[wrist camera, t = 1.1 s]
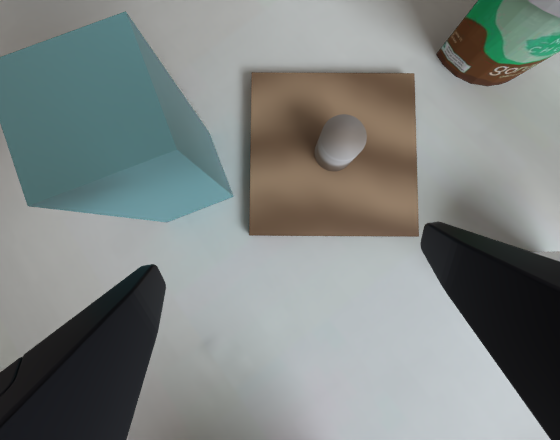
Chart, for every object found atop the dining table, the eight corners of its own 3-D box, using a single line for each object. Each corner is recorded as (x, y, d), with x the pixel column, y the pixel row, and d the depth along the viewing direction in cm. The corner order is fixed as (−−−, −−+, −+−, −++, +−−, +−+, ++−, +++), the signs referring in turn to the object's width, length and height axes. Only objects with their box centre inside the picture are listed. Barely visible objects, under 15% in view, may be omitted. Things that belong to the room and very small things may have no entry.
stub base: (412, 236, 22) (447, 236, 17) (250, 235, 22) (243, 235, 17) (408, 80, 23) (440, 42, 18) (252, 79, 23) (246, 40, 18)
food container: (451, 120, 22) (591, 28, 12) (421, 60, 23) (532, -78, 13) (573, 66, 23) (805, -68, 13) (541, 7, 23) (743, -168, 13)
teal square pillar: (233, 196, 22) (176, 149, 10) (166, 222, 22) (27, 206, 10) (208, 132, 22) (125, 11, 10) (143, 156, 22) (-20, 64, 10)
